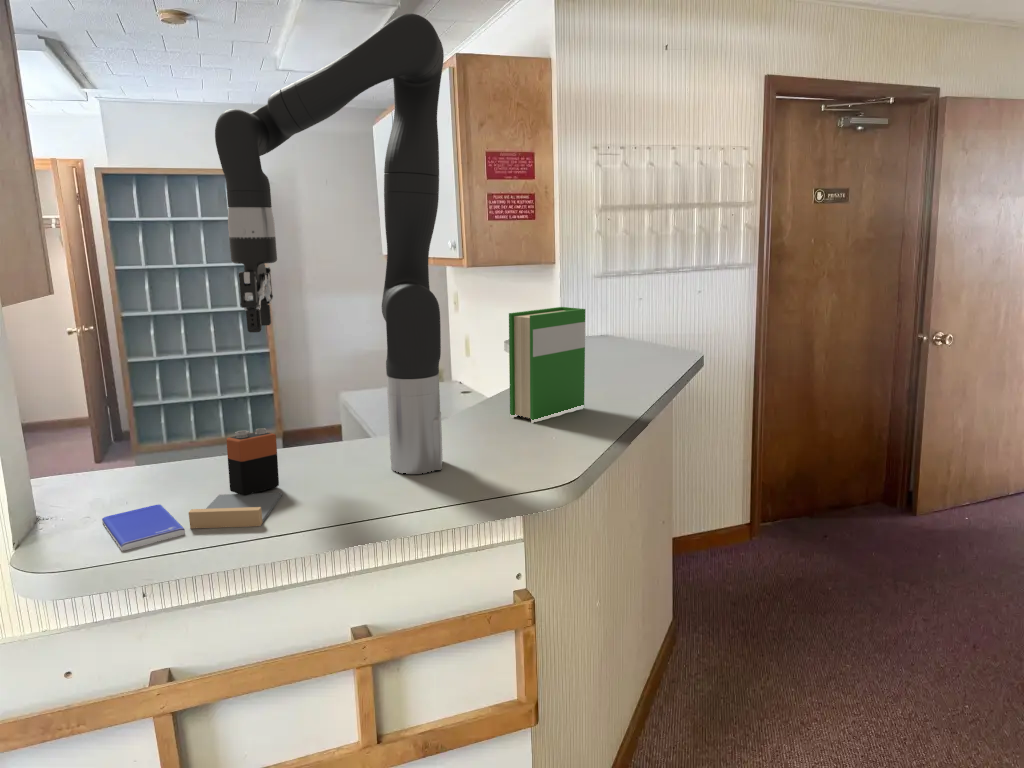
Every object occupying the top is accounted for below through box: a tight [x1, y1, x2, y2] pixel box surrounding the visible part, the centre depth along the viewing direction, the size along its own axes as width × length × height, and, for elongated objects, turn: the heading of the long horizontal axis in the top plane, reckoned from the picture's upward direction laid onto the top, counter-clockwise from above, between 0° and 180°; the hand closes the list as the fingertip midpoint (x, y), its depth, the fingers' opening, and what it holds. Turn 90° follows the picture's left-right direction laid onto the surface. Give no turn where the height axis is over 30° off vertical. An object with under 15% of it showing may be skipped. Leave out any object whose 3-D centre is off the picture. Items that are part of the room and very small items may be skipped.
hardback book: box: [508, 306, 586, 420], centre depth 162 cm, size 18×7×24 cm, turn 135°
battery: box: [226, 427, 280, 495], centre depth 116 cm, size 4×7×10 cm, turn 143°
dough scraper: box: [188, 492, 283, 529], centre depth 108 cm, size 10×12×2 cm
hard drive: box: [101, 504, 186, 552], centre depth 102 cm, size 2×8×12 cm
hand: (260, 328), depth 124 cm, fingers open, 8 cm apart
